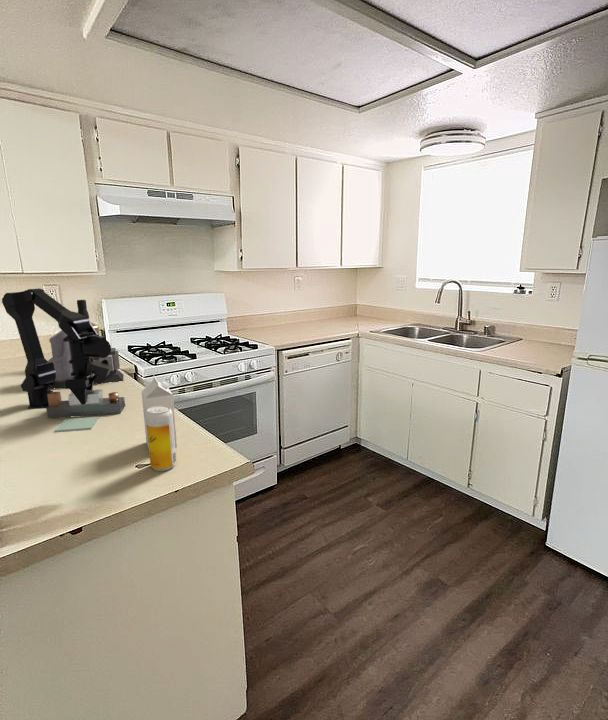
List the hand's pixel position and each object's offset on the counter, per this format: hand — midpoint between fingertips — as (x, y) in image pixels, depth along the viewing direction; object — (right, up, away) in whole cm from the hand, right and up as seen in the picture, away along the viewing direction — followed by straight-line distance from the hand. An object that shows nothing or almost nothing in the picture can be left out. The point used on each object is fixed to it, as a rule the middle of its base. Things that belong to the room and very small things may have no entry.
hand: (86, 400), depth 137 cm
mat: (+2, -6, -9) cm, 12 cm away
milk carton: (+33, -10, -23) cm, 41 cm away
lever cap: (0, -1, 0) cm, 0 cm away
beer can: (+38, -13, -35) cm, 53 cm away
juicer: (-20, +4, +36) cm, 41 cm away
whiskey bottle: (-29, +10, +58) cm, 65 cm away
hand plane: (0, -4, +1) cm, 4 cm away
